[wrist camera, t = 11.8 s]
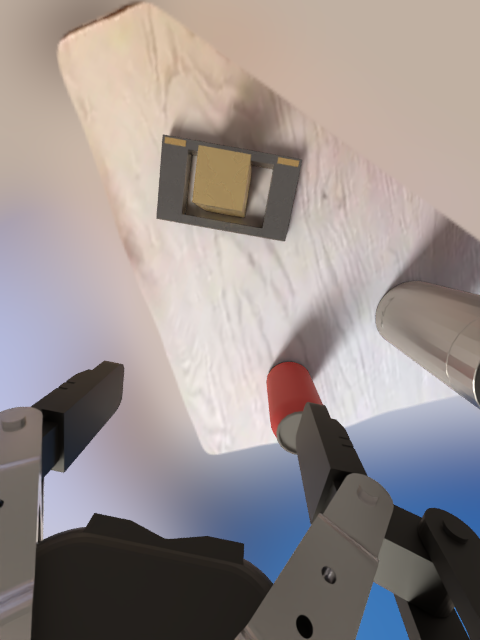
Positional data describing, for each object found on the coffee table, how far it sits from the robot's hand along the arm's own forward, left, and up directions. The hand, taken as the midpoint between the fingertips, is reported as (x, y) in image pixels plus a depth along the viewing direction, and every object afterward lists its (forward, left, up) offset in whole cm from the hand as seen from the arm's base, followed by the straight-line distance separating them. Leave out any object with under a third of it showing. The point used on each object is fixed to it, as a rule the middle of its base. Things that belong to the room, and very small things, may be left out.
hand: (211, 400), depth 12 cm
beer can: (-9, +12, -27) cm, 31 cm away
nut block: (+3, -12, -26) cm, 29 cm away
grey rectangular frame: (+4, -12, -26) cm, 29 cm away
